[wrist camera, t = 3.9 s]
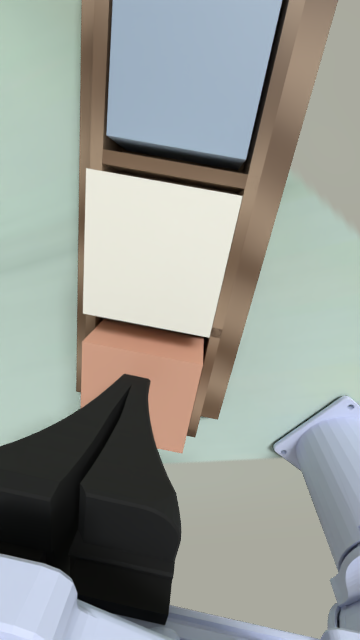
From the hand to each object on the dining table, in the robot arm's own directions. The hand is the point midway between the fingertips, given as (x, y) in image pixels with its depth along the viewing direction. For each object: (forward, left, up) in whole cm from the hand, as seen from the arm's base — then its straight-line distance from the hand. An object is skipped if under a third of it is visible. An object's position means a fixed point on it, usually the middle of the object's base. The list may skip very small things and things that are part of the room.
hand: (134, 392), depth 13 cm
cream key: (+3, -5, -4) cm, 8 cm away
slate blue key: (+7, -12, -7) cm, 16 cm away
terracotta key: (-1, +1, -5) cm, 5 cm away
